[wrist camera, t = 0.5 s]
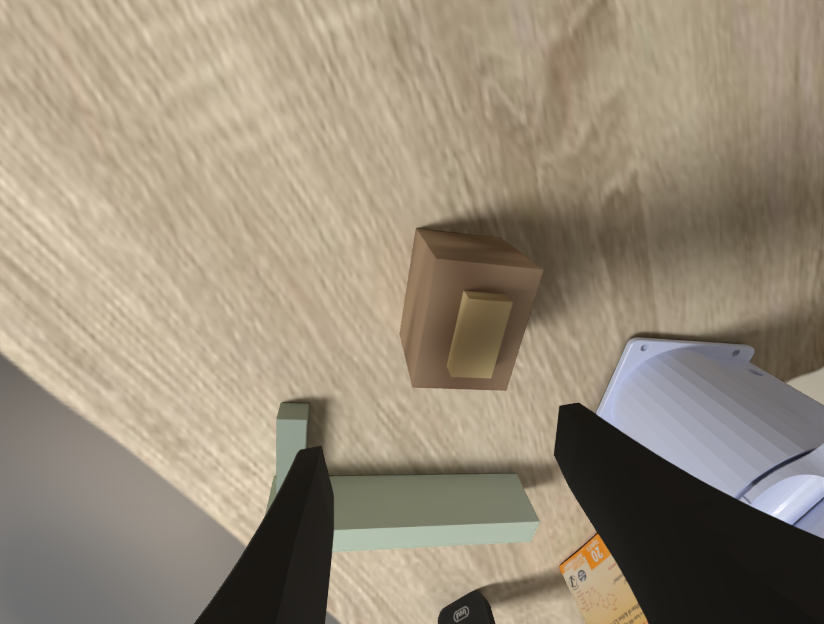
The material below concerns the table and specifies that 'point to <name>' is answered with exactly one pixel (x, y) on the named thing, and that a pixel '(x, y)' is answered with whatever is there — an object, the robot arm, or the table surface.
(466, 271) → the brown block
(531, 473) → the table surface
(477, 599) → the remote control
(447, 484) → the green l-shaped block
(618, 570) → the supplement box
